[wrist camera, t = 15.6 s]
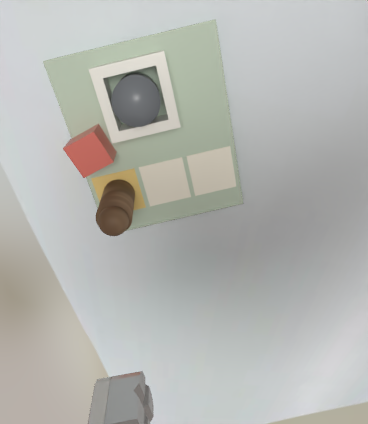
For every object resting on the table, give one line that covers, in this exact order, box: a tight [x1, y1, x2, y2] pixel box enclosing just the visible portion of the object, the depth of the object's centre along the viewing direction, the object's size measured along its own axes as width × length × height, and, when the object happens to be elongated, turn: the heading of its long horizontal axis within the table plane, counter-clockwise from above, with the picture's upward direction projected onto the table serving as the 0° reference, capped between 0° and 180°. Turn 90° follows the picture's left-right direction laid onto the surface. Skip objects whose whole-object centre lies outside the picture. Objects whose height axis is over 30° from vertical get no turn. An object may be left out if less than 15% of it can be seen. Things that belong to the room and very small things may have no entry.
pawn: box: [96, 179, 135, 236], centre depth 36 cm, size 4×4×8 cm
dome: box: [111, 72, 161, 127], centre depth 33 cm, size 4×4×4 cm
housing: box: [89, 50, 181, 143], centre depth 34 cm, size 7×7×3 cm
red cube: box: [63, 124, 116, 178], centre depth 36 cm, size 4×4×4 cm
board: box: [43, 19, 243, 231], centre depth 38 cm, size 17×20×1 cm
